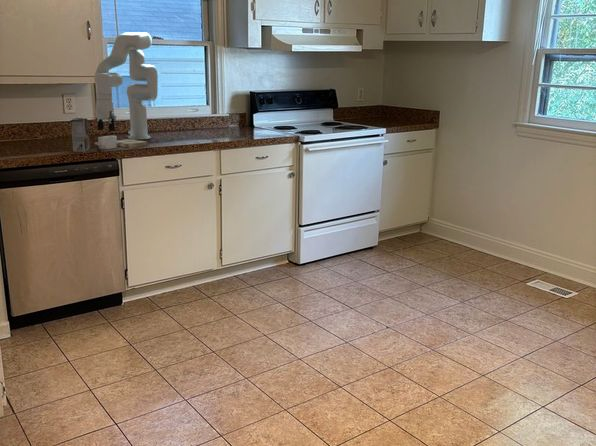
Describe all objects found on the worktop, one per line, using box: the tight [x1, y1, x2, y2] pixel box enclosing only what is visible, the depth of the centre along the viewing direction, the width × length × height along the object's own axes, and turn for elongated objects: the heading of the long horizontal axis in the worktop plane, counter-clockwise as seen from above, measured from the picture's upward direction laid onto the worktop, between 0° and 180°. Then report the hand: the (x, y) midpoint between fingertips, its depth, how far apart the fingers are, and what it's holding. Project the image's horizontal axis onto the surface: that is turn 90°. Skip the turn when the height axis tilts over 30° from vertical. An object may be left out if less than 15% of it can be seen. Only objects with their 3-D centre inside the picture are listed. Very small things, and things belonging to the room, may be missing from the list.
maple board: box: [117, 138, 149, 149], centre depth 332 cm, size 16×12×2 cm
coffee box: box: [70, 117, 91, 153], centre depth 310 cm, size 9×6×16 cm
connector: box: [94, 135, 118, 150], centre depth 320 cm, size 4×12×6 cm, turn 142°
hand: (106, 130), depth 318 cm, fingers open, 9 cm apart
